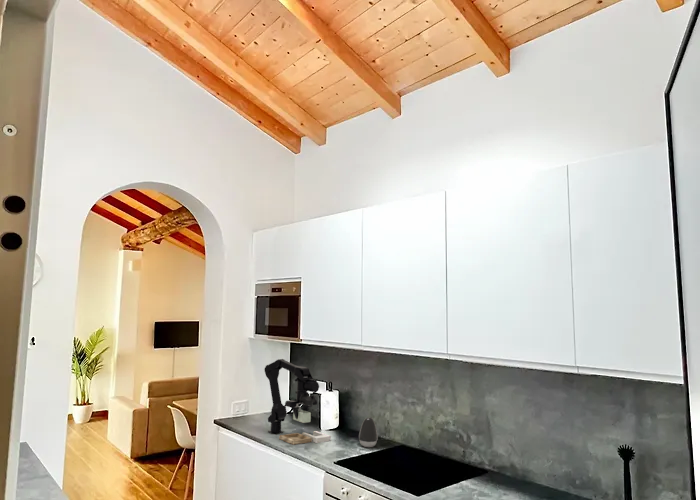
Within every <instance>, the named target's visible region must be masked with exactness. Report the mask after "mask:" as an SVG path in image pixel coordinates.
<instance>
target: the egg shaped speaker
mask: <svg viewBox="0 0 700 500" xmlns="http://www.w3.org/2000/svg"><path fill="white" fill-rule="evenodd" d="M378 437H379V436H378V431H377V425H376V423H375V421H374V418H373V417H372V416H369V417H365V418H364V420H363V421H362V423H361V426H360V430H359V433H358V440H359V443H360V445H361V446H362V447H364V448H373V447H375V446H376V444H377V441H378Z"/></svg>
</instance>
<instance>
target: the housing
mask: <svg viewBox="0 0 700 500" xmlns="http://www.w3.org/2000/svg"><path fill="white" fill-rule="evenodd" d="M301 434H302V435H304V436H307V437H310V438H312V442H311V443H316V444H318V443H325V442H331V441H332V440H331V439H332V436H331V435H328V434H326V433H323V432H320V431H317V430H314V431H313V433H312V434H310V433H307V432H302V433H301Z"/></svg>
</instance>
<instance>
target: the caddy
mask: <svg viewBox="0 0 700 500" xmlns="http://www.w3.org/2000/svg"><path fill="white" fill-rule="evenodd" d="M298 407H300V408H299V409H298V419H296V418H295V415H294V412H293V411H292V412H293V414H292V420H294V421H296V422H300V423H303V424H304V423H306V424H307V423H311V419H312V417H311V416H312V415H311V414H312V412H310V411H308V412H307V411H304V410H303V409H301V408H302V407H301V406H300V405H298Z"/></svg>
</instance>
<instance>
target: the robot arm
mask: <svg viewBox="0 0 700 500" xmlns="http://www.w3.org/2000/svg"><path fill="white" fill-rule="evenodd" d="M282 369H284V370H287V371H289V372H291V373H292V374H293V375H294V376H295V377H296V378H295V379H294V381H295V382H297V384H296V385H297V386H296V389H297V390H296V391H295V394H296V398H295V399H294V400H292V399H290V400H286V401H285V403H284V404H283V403H282V399H281V393H280V386H279V380H278V379H279V375H280V370H282ZM263 370H264V373H265V377H266V378H267V380H269V387H270V388H269V389H270V393H271V400H272V407H271V409H270V411H271V413H270V415H269V417H267V422H268V423H270V429H269V430H268V433H270V434H273V435H276V434H283V432H284V431H282V422H285V418H286V416H287V412H288V411H287V407H288V408H291V410H292V412H294V415H295V418H296V419H298V409H299V408H300V407H301V406H300V405H302V410H304V411H307V412H309V410H310V408H312V407H313V406H316V405H318V400H317V398H316V396H315V395H309V392H310V393H317V392H319V388H320V384H319V382H318V381H317V379H314V378H313V376H312V373H311V372H310V368H309V367H308V366H300V365H296V364H294V363H292V362H289V361H288V360H286V359H283V358H281V359H279V358H278V359H276V360H275V361H273V362H271V363H269V364H266V365H265V367H264V369H263ZM298 406H299V407H298Z"/></svg>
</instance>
